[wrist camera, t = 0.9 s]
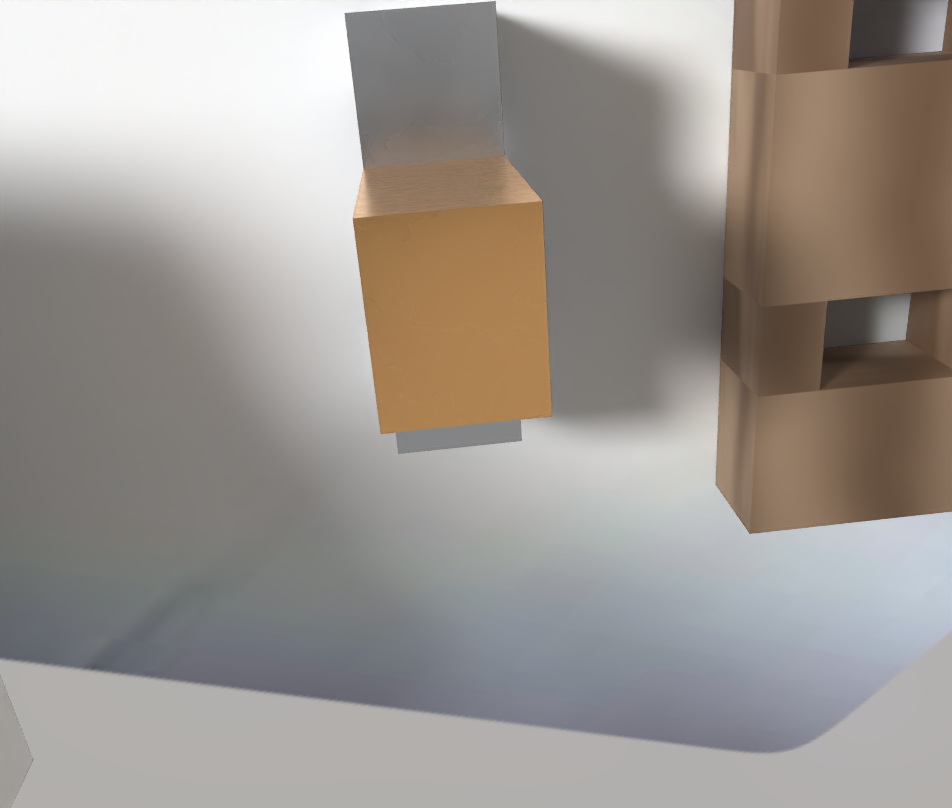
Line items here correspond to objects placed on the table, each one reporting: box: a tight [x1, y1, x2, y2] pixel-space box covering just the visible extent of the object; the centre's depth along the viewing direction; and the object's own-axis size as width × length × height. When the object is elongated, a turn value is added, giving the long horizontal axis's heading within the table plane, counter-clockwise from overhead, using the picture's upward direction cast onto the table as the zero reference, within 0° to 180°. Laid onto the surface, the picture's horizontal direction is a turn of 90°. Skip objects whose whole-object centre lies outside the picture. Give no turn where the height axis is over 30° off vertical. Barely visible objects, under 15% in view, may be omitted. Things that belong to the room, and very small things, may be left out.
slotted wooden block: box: [716, 0, 952, 534], centre depth 31 cm, size 10×26×4 cm, turn 4°
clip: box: [345, 1, 552, 454], centre depth 26 cm, size 4×13×14 cm, turn 4°
